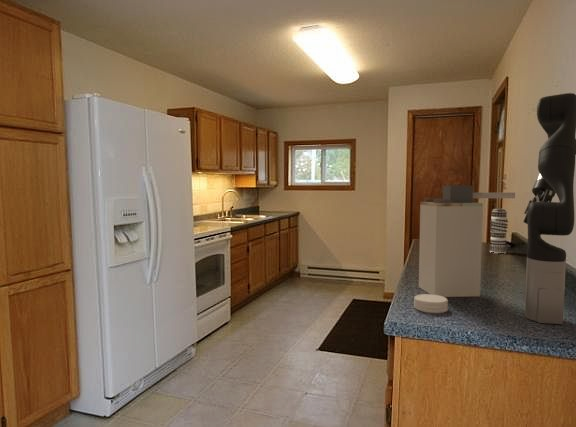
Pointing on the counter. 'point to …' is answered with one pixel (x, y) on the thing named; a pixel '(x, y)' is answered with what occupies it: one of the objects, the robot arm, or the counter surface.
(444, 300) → the coaster
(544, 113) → the robot arm
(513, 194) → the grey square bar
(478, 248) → the cabinet
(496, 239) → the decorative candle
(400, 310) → the counter surface
